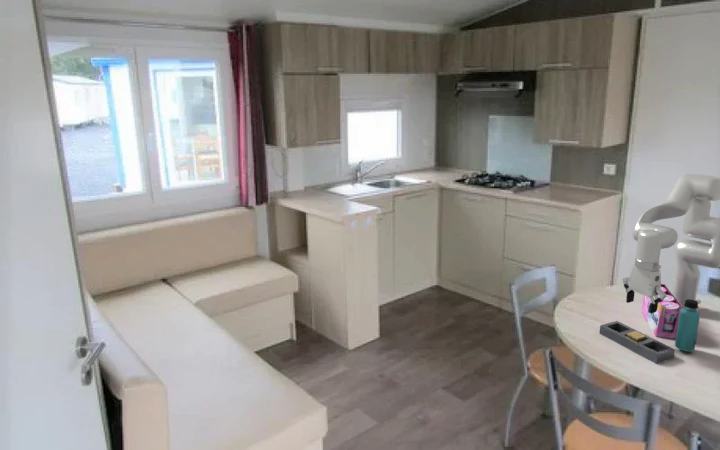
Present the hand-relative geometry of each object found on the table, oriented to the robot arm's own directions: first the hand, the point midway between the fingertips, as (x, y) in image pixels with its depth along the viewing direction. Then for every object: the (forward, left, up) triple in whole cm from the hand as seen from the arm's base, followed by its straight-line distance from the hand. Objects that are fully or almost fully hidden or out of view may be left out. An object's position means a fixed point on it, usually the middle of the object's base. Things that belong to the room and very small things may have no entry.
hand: (640, 307), depth 194 cm
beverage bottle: (-12, +11, -16) cm, 22 cm away
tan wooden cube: (+1, 0, -16) cm, 16 cm away
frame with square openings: (+1, 0, -16) cm, 16 cm away
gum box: (-22, -7, -16) cm, 28 cm away
